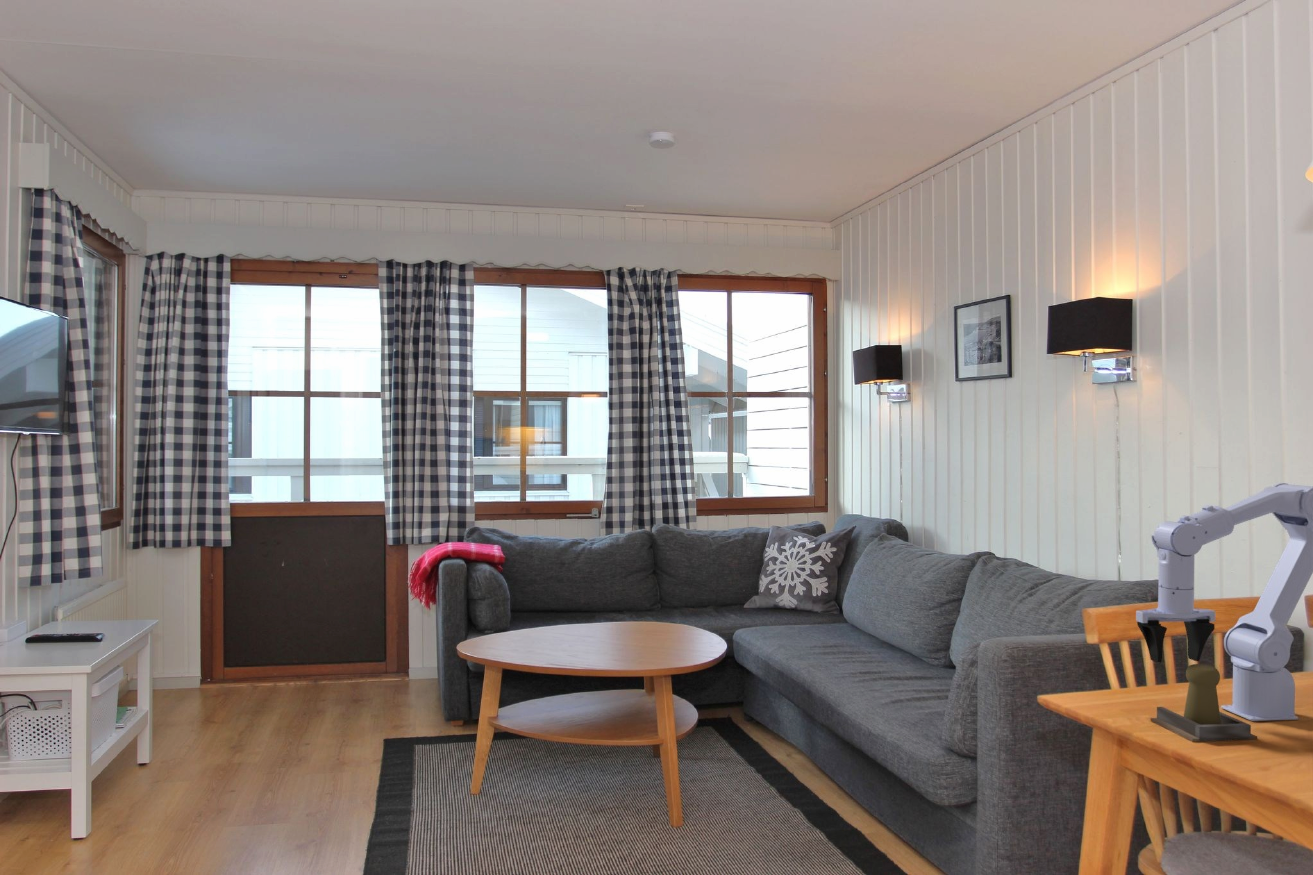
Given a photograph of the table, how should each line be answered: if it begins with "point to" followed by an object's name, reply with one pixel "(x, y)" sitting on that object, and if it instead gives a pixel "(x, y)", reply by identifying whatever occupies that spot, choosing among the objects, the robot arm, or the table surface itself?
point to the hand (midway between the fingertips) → (1175, 660)
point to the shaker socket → (1204, 727)
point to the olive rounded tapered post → (1202, 694)
